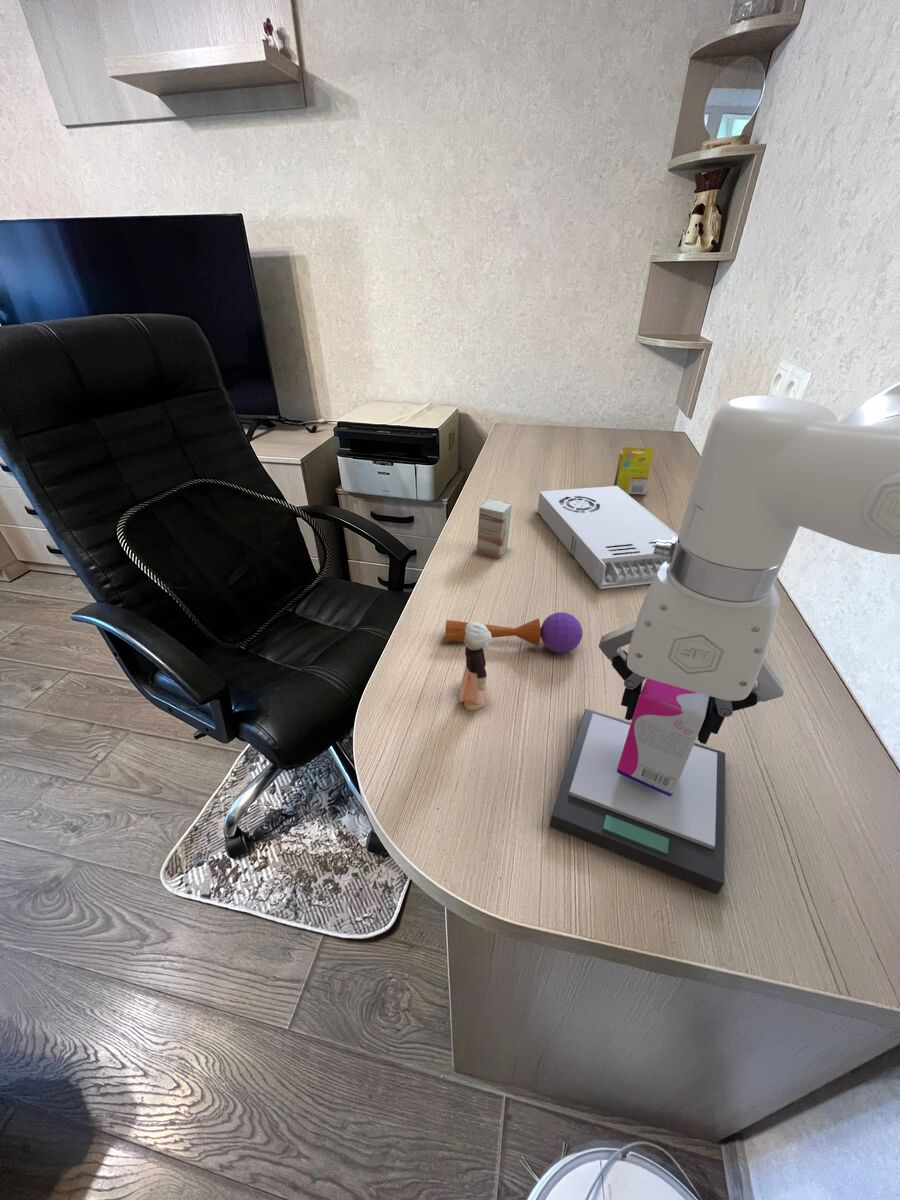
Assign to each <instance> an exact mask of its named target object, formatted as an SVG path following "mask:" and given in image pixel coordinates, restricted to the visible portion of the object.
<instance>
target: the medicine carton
mask: <svg viewBox="0 0 900 1200" xmlns="http://www.w3.org/2000/svg"><path fill="white" fill-rule="evenodd" d="M512 508H513V504H512V503H509V502H506V501H501V500H498V499H497V500H496V499H492V498H491V499H490V498H487V499H486V500H485V501H483V503H481V504H480V506H479V510H478V513H479V514H478V526H477V540H476V541H477V544H476V553H477V554H480V555H483V556H487V557H489V558H490V557H491V558H494V559H498V560H499V559H500V558H502V556H503V555H504V554H505V553H506V552H507V551H508V548H509V547H508V545H509V536H510V527H511V518H512Z"/></svg>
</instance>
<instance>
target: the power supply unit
mask: <svg viewBox="0 0 900 1200" xmlns="http://www.w3.org/2000/svg"><path fill="white" fill-rule="evenodd" d="M537 512H538V514H539V515H540V516H541V518H542V519H543V520H544V522H545V523H546V524H547V526H548V527H549V528H550V530H551V531H552V532H553V533H554V534H555V535H556V537H557V538H558V539H559V541H560V542H561V543H562V544H563V546H564V547H565V548H566V549H567V550H568V552H569V553H570V554H571V555H572V556H573V558H574V559H575V560H576V561H577V563H578V564H579V565H580V566H581V568H582V569H583V570H584V571H585V573H586V574H587V575H588V576H589V578H590V579H591V580H592V582H593V583H594V584H595V585H596V586H597V588H598V589H599V590H608V589H616V588H625V587H634V586H642V585H643V586H645V585H651V583H652V581H653V579H654V577H655V575H656V573H657V572H658V570H659V568H660V567H661V565H662V564H663V563H665V562H666V561H667V559H662V557H660V556H655V555H653V553H654V549H655V545H656V541H657V539H658V540H664V541H667V540H672V539H673V537H676V538H677V535H678V533H676V532H675V531H674V530H672V529H671V528H670V527H669V526H668V525H666V524H665V523H664V522H663V521H661V520H660V519H659V518H658V517H657V516H655V515H654V514H653V513H651V512H650V511H649V510H648V509H647V508H646V507H644V506H643V505H642V504H641V503H639V502H638V501H637V500H635V499H634V498H633V497H631V495H630V494H627V493H625V492H624V491H623V490H622V489H620V488H619V487H618V486H614V485H610V486H597V487H583V488H582V487H581V488H569V489H555V490H542V491H539V494H538V504H537Z"/></svg>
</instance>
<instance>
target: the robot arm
mask: <svg viewBox="0 0 900 1200" xmlns="http://www.w3.org/2000/svg"><path fill="white" fill-rule="evenodd" d="M709 425H710V426H709V428H708V431H707V435H706V437H705V441H704V445H703V448H702V452H701V455H700V458H699V462H698V465H697V469H696V471H695V475H694V478H693V482H692V485H691V489H690V492H689V496H688V498H687V499H688V500H687V503H686V506H685V509H684V513H683V516H682V520H681V522H680V525H679V526H680V527H679V530H678V532H677V538H676V537H673V539H672V540H667V541H664V540H658V539H657V541H656V545H655V549H654V553H653V555H655V556H660V557H662V559H667V561H666V562H665V563H663V564H662V565H661V567H660V568H659V570H658V572H657V573H656V575H655V577H654V579H653V581H652V583H651V584H649V588H648V590H647V592H646V595H645V596H644V599H643V601H642V604H641V606H640V609H639V612H638V615H637V618H636V621H633V622H631V623H630V624H627V625H625V626H623V627H620V628H617V629H615V630H613V631H611V632H608V633H606V634H603V635H602V636H601V638H600V640H599V643H598V648H599V650H600V651H601V652H602V653H603V655H604V656H605V657H606V658H607V660H609V661H610V662H611V666H612V668H613V669H614V670H615V672H616V673H617V674H618V676H620V677H621V679H622V680H623V686H624V691H623V694H622V698H621V701H620V706H622V707H626V713H625V716H624V720H625V721H628V722H631V721H632V718H633V715H634V712H635V708H636V705H637V702H638V698H639V695H640V693H641V691H642V688H643V685H644V684H643V683H644V681H646V680H647V678H648V679H651V680H655V681H658V682H662V683H665V684H669V685H672V686H676V687H679V688H683V689H686V690H690V691H693V692H697V693H701V694H704V695H708V696H710V698H709V703H708V707H707V711H706V715H705V719H704V722H703V724H702V726H701V729H700V731H699V733H698V736H697V741H698V742H699V743H700V744H703V745H707V743H708V741H709V738H710V736H711V734H714V735H718V733H719V731H720V729H721V727H722V725H723V723H724V720H725V718H729V717H731V716H732V715H733V714H734V712H736V711H739V710H740V711H741V710H743V709H748V708H751V707H754V706H756V705H758V703H759V702H761V703H764V702H768V701H772V700H775V699H778V698H782V697H783V696H784V694H785V693H784V685H783V682H782V681H781V679H780V678H779V676H778V675H777V674H776V672H775V671H774V669H773V668H772V666H771V665H770V664H769V663H768V661H767V660H766V659H765V658H766V655H767V652H768V649H769V647H770V643H771V640H772V636H773V633H774V630H775V626H776V622H777V618H778V614H779V609H780V601H781V600H780V599H781V598H780V595H779V594H778V590H777V587H775V582H776V580H777V578H778V576H779V573H780V571H781V569H782V567H783V565H784V562H785V560H786V558H787V556H788V553H789V551H790V548H791V547H792V544H793V542H794V539H795V537H796V535H797V533H798V530H799V528H800V527H801V528H804V529H807V530H810V531H812V532H815V533H817V534H821V535H823V536H826V537H828V538H830V539H834V540H835V541H836V540H837V541H839V542H842V543H845V544H847V545H850V546H853V547H857V548H859V549H863V550H867V551H871V552H875V553H880V554H885V555H897V556H900V382H898V383H895V384H893V385H892V386H890V387H889V388H887V389H885V390H884V391H881V392H879V393H878V394H876V395H874V396H873V397H871V398H869V399H867V400H866V401H864V402H863V403H861V404H860V405H858V406H857V407H856V408H855V409H853V410H852V411H851V412H850V413H849V414H847V415H845V417H844V418H842V420H841V421H839V418H838V416H837V415H836V414H835V412H833V411H832V410H831V409H829V408H827V407H825V406H823V405H821V404H819V403H815V402H812V401H808V400H803V399H798V398H792V397H784V396H775V395H747V396H742V397H737V398H733V399H731V400H729V401H727V402H726V403H724V404H722V405H721V406H720V407H719V408H718V410H717V411H716V413H715V414H714V415H713V417H712V420H711V423H710V424H709ZM627 645H629V646H628V650H627V651H626V650H624V649H622V647H624V646H627Z"/></svg>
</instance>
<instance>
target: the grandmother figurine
mask: <svg viewBox="0 0 900 1200" xmlns="http://www.w3.org/2000/svg"><path fill="white" fill-rule="evenodd" d="M485 625H486V624H485ZM485 625H484V623H482V622H479V621H475V620H472V621H469V622H468V624H467V625H466V627H465V633H466V634H465V637H464V640H463V641H464V645H465V649H464V650H465V652H464V653H465V664H466V665H465V666H464V671H463V675H462V679H461V684H460V688H459V692H458V700H459V701H460V702H462V703H463V706H464V708H465V709H466V710H468V711H471V712H472V711H475V710H479V709H482V708H484V707H485V705H486V703H485V700H484V698H483V692H485V691H486V690H487V684H486V683H487V676H488V675H487V670H486V665H487V661H486V655H485V651H484V648H483V647H487V646H488V645H490V644H491V642H492V640H493V638H492V637H491V633H490V632H489V630H488V629H487V627H486V626H485Z"/></svg>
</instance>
